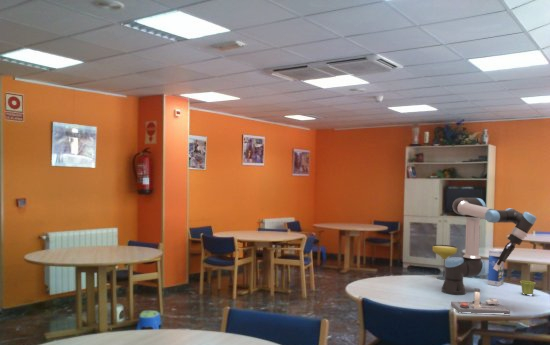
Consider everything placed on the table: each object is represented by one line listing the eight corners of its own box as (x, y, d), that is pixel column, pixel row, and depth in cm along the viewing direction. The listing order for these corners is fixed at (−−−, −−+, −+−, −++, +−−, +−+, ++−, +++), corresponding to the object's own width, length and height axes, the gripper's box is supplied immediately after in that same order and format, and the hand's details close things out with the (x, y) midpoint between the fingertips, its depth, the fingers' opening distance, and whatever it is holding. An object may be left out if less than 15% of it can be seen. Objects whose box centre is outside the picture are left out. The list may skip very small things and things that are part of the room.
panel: (459, 313, 273) (459, 304, 273) (451, 305, 289) (451, 297, 289) (509, 315, 271) (509, 307, 271) (498, 307, 287) (498, 300, 287)
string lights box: (498, 286, 346) (499, 251, 346) (487, 284, 351) (488, 249, 351) (503, 283, 356) (504, 249, 356) (492, 282, 361) (493, 248, 361)
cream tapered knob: (474, 308, 274) (474, 292, 274) (472, 306, 277) (472, 291, 277) (481, 308, 274) (481, 293, 274) (479, 306, 277) (479, 291, 277)
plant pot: (530, 293, 327) (530, 280, 327) (538, 296, 318) (538, 284, 318) (517, 293, 327) (517, 280, 327) (524, 296, 317) (525, 283, 317)
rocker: (488, 304, 282) (487, 301, 282) (485, 302, 286) (485, 299, 286) (498, 302, 281) (498, 299, 281) (496, 301, 285) (495, 297, 285)
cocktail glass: (460, 279, 367) (461, 247, 367) (449, 282, 354) (450, 249, 354) (438, 275, 380) (439, 244, 380) (427, 278, 367) (428, 245, 368)
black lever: (474, 304, 283) (474, 289, 283) (472, 302, 286) (472, 288, 286) (481, 304, 283) (481, 289, 283) (479, 303, 286) (479, 288, 286)
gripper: (520, 238, 274) (498, 272, 277) (525, 241, 284) (503, 273, 287) (508, 231, 279) (486, 265, 282) (513, 234, 289) (492, 266, 292)
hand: (495, 269), depth 284 cm, fingers closed
